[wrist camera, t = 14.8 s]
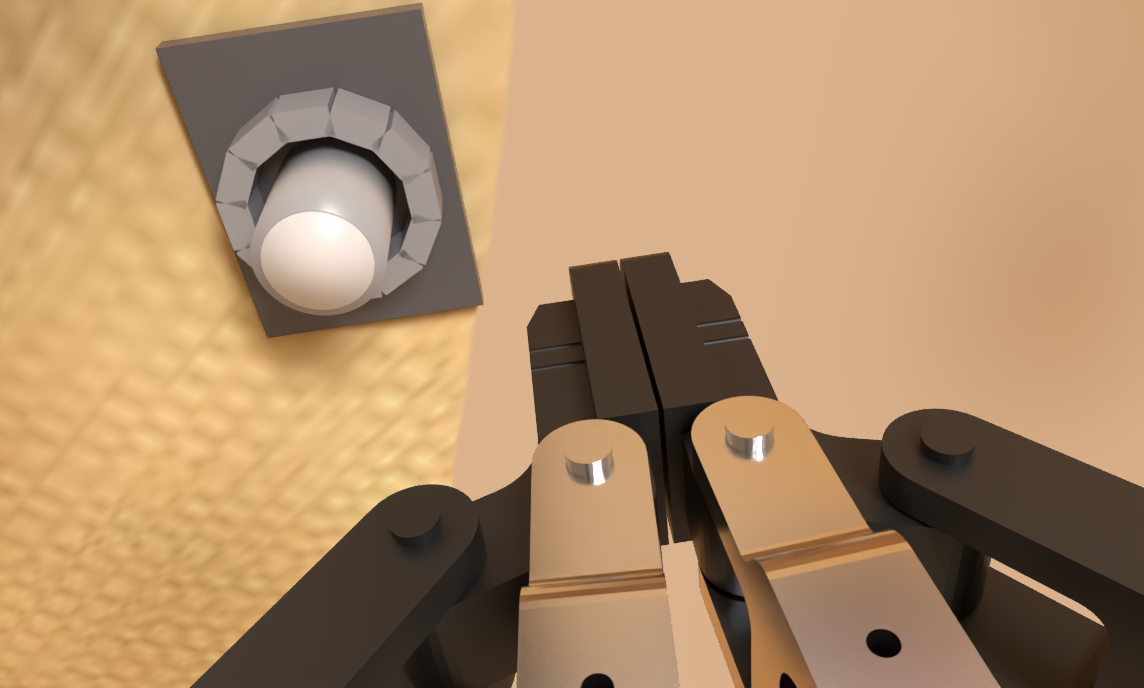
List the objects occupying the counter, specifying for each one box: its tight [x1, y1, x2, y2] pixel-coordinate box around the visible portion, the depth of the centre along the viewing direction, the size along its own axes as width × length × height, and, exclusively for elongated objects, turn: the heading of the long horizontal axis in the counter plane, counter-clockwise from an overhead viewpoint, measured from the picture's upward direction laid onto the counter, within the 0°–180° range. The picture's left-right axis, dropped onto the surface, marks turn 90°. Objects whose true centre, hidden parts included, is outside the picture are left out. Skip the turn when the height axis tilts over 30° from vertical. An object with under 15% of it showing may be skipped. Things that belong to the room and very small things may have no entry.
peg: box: [250, 136, 396, 315], centre depth 42 cm, size 6×6×7 cm
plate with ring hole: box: [156, 3, 483, 338], centre depth 44 cm, size 16×12×3 cm
